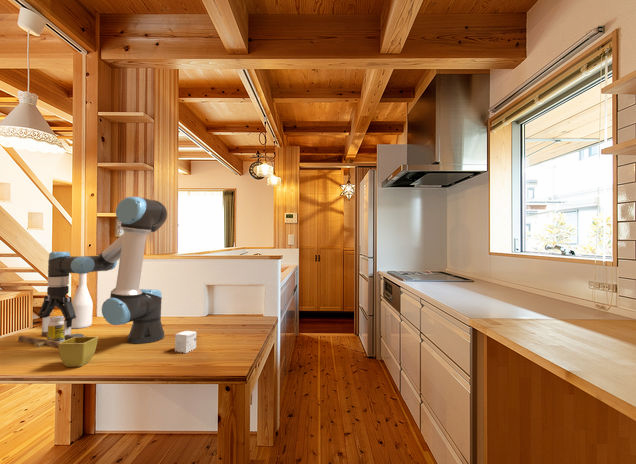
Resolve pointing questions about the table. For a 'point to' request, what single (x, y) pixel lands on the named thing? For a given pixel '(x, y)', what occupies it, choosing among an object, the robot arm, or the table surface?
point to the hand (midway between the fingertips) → (56, 333)
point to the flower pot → (77, 350)
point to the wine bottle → (82, 305)
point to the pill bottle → (56, 329)
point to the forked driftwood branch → (43, 342)
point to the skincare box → (185, 341)
